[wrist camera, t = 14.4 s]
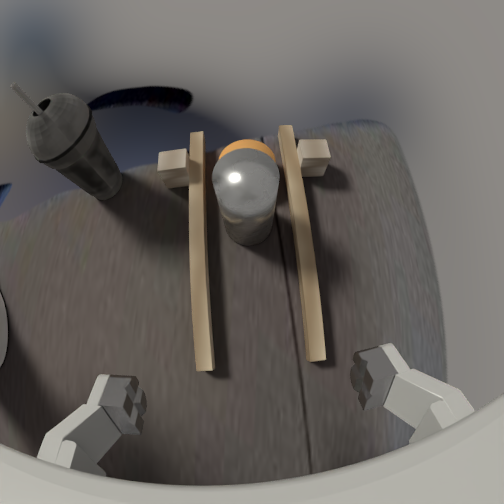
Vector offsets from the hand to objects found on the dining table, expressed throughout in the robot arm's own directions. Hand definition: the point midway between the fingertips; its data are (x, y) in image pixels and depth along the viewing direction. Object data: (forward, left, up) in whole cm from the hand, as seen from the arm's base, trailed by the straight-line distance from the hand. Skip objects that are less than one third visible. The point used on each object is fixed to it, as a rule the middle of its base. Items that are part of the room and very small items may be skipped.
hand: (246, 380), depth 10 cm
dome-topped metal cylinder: (-3, +13, -18) cm, 22 cm away
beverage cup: (-21, +15, -18) cm, 32 cm away
